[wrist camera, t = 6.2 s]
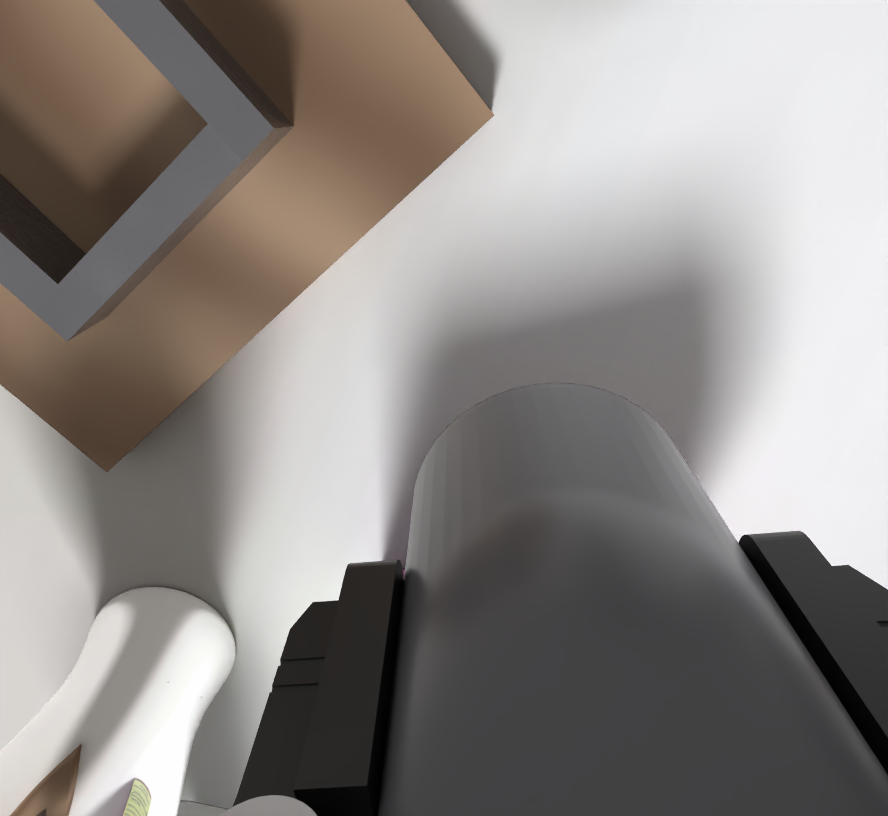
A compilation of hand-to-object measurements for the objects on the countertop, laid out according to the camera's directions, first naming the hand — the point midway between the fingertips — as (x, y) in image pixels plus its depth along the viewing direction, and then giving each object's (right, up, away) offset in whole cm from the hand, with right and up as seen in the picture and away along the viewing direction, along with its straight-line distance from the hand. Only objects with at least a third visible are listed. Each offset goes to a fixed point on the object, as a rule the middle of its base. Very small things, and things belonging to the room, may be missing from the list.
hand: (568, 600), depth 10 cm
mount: (-12, +12, +11) cm, 21 cm away
